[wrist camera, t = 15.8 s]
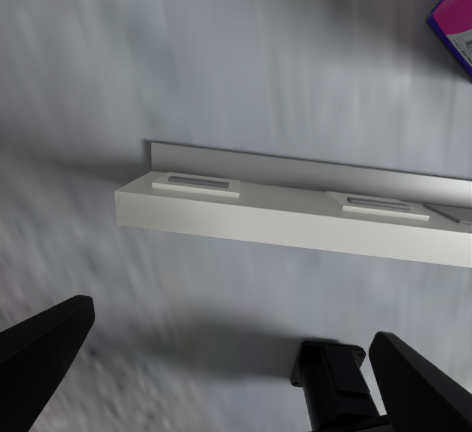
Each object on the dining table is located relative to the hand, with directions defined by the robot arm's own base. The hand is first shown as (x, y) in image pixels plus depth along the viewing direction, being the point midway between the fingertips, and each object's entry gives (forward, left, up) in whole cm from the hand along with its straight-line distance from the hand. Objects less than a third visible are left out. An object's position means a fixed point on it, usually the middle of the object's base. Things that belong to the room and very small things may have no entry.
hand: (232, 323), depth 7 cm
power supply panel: (+1, -8, -12) cm, 15 cm away
